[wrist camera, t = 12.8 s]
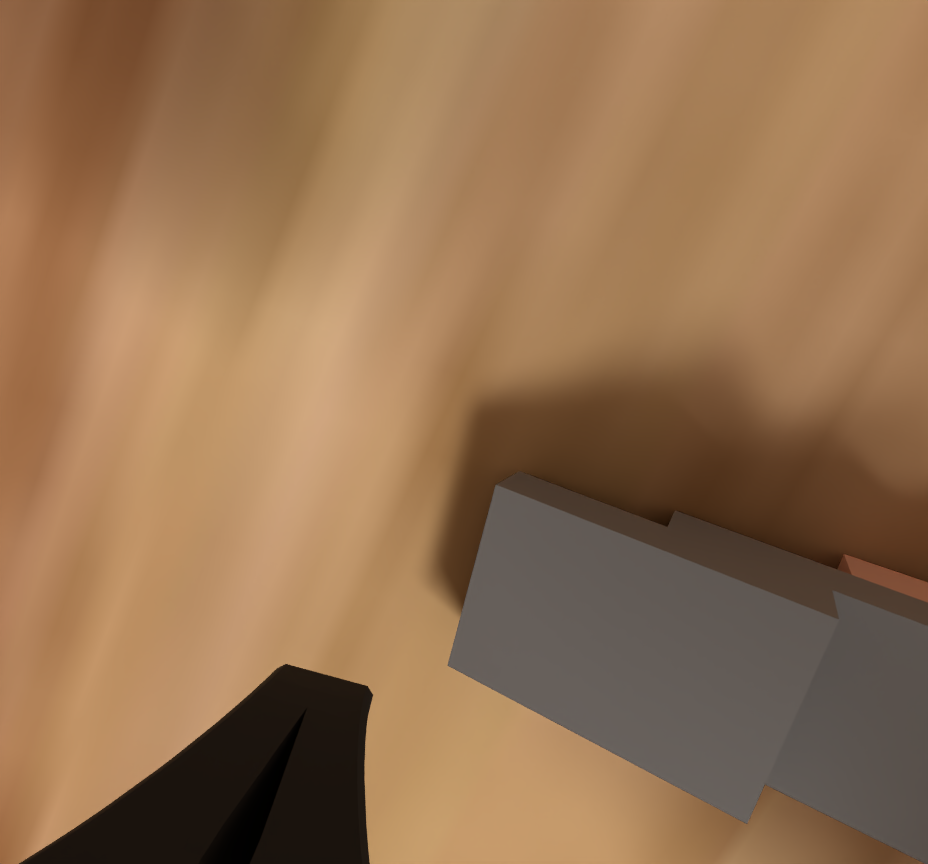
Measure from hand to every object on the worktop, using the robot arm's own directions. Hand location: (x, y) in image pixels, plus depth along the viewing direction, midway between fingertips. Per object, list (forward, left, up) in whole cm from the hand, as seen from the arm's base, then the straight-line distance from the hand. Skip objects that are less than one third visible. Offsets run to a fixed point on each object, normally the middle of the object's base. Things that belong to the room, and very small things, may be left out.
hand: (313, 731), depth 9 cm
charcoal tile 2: (-6, 0, -6) cm, 9 cm away
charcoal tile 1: (-2, 0, -6) cm, 7 cm away
